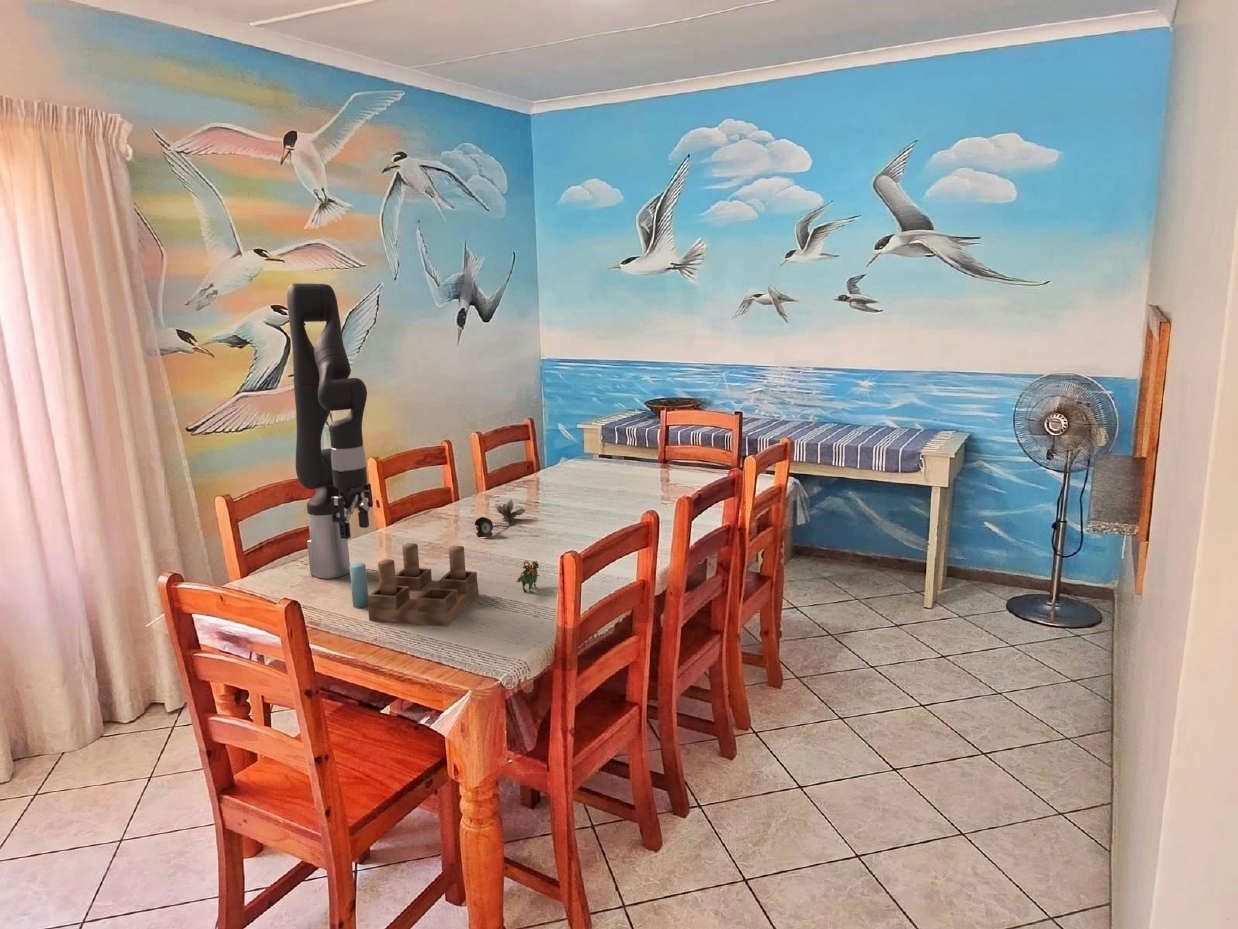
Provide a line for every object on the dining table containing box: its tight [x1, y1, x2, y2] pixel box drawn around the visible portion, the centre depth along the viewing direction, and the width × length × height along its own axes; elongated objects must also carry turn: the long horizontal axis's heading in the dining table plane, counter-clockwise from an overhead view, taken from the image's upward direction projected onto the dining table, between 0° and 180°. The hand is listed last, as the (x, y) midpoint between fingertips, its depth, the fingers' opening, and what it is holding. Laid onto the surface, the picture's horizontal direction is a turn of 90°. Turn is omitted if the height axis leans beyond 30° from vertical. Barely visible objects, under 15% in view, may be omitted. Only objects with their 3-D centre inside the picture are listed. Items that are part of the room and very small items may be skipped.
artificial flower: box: [474, 498, 527, 538], centre depth 254 cm, size 9×22×10 cm, turn 154°
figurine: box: [516, 560, 540, 594], centre depth 201 cm, size 3×12×8 cm, turn 160°
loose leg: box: [349, 562, 369, 609], centre depth 194 cm, size 4×4×10 cm
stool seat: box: [367, 542, 480, 627], centre depth 192 cm, size 19×19×13 cm
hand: (355, 532), depth 191 cm, fingers open, 8 cm apart
